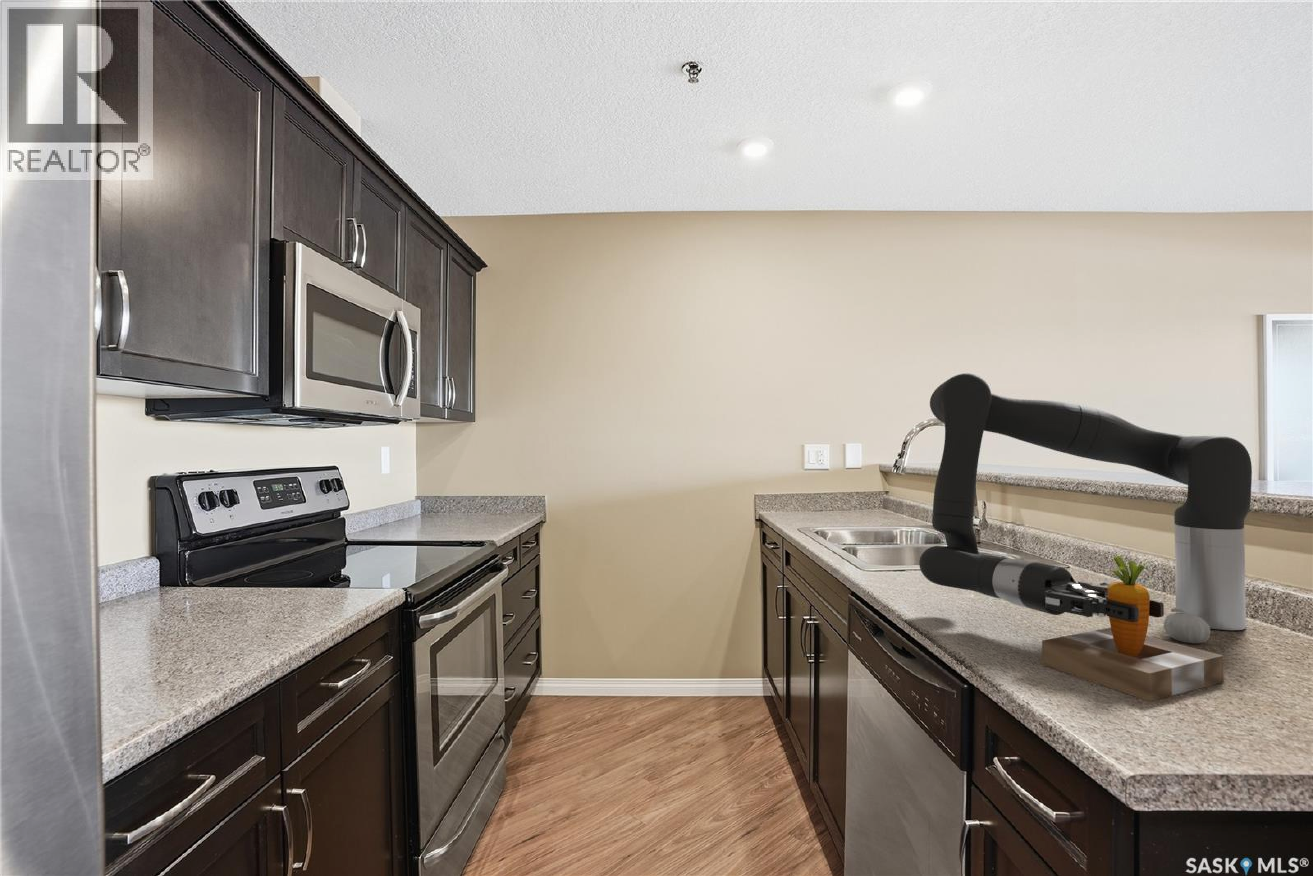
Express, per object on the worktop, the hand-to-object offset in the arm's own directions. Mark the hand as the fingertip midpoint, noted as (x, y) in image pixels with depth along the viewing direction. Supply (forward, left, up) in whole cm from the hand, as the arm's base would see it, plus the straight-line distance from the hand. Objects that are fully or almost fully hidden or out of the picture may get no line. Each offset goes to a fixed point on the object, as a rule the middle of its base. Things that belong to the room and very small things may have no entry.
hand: (1149, 612), depth 84 cm
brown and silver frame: (0, -3, -9) cm, 9 cm away
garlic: (-23, -8, -9) cm, 26 cm away
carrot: (0, -3, -8) cm, 9 cm away
